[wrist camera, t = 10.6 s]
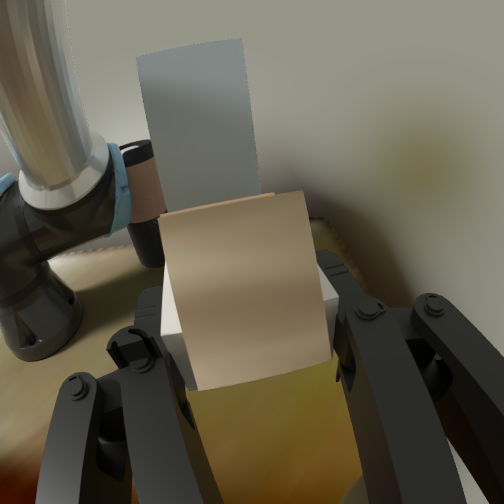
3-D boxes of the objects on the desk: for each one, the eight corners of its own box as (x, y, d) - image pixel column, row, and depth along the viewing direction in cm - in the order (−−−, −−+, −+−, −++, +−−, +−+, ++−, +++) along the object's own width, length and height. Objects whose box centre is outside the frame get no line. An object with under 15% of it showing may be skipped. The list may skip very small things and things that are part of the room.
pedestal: (281, 300, 39) (254, 35, 22) (190, 320, 37) (123, 58, 21) (261, 252, 49) (235, 50, 32) (188, 268, 47) (142, 67, 31)
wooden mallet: (412, 331, 7) (370, 105, 7) (107, 401, 6) (55, 160, 6) (275, 270, 27) (261, 203, 27) (186, 288, 26) (172, 221, 26)
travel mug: (169, 240, 56) (144, 138, 45) (186, 255, 51) (159, 140, 40) (134, 256, 53) (101, 152, 42) (147, 274, 47) (110, 156, 36)
